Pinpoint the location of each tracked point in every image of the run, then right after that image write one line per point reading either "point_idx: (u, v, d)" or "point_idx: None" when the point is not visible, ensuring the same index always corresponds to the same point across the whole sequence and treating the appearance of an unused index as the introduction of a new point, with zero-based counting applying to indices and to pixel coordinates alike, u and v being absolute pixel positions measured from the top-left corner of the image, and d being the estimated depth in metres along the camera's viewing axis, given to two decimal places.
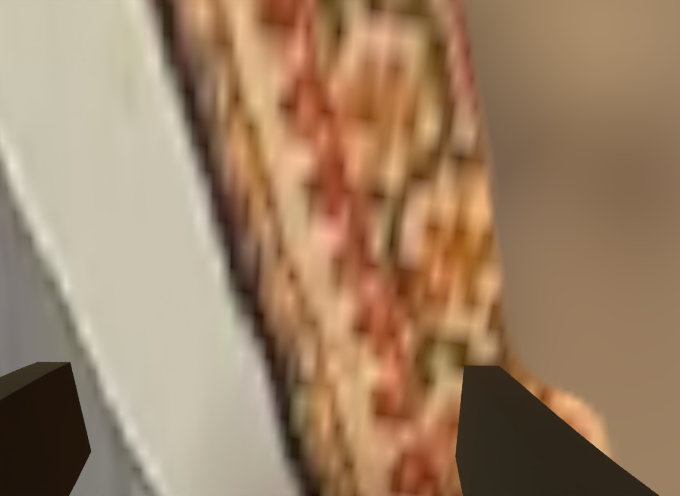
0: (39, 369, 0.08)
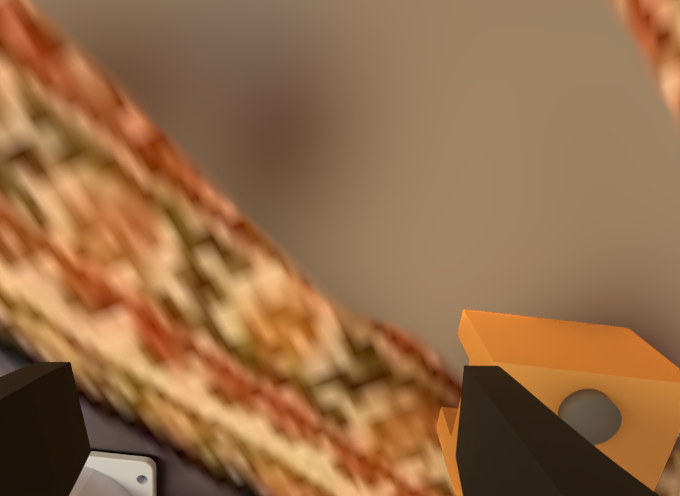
0: (39, 369, 0.08)
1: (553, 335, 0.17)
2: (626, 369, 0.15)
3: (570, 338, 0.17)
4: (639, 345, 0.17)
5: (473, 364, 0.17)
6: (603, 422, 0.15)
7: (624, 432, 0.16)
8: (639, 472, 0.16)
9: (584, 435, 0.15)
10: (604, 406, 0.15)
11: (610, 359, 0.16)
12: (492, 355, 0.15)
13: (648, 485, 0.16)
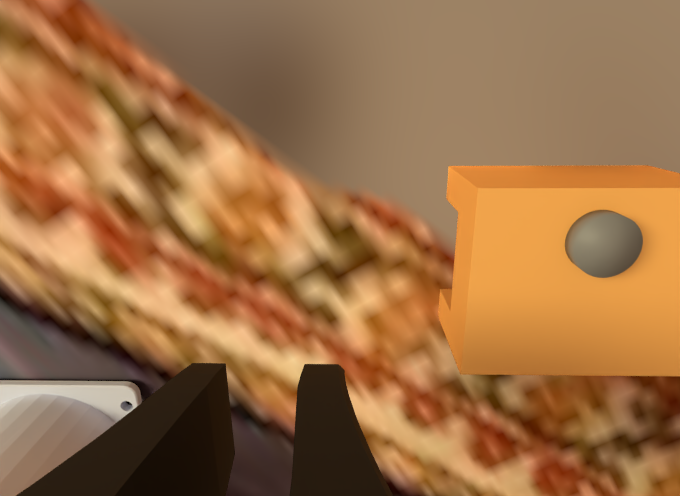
0: (202, 370, 0.08)
1: (554, 173, 0.15)
2: (643, 184, 0.13)
3: (574, 173, 0.15)
4: (660, 172, 0.15)
5: (462, 212, 0.14)
6: (620, 244, 0.12)
7: (649, 262, 0.13)
8: (674, 313, 0.14)
9: (598, 264, 0.12)
10: (619, 222, 0.12)
11: (623, 180, 0.13)
12: (477, 185, 0.13)
13: None
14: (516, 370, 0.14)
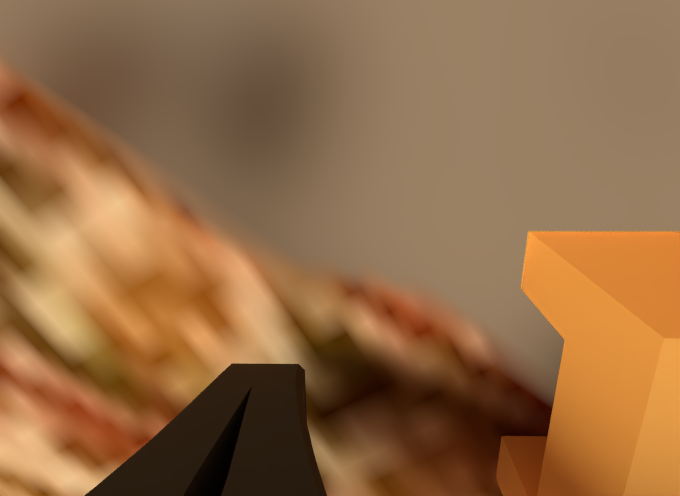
0: (243, 371, 0.08)
1: None
2: None
3: None
4: None
5: (580, 350, 0.07)
6: None
7: None
8: None
9: None
10: None
11: None
12: (649, 320, 0.05)
13: None
14: None
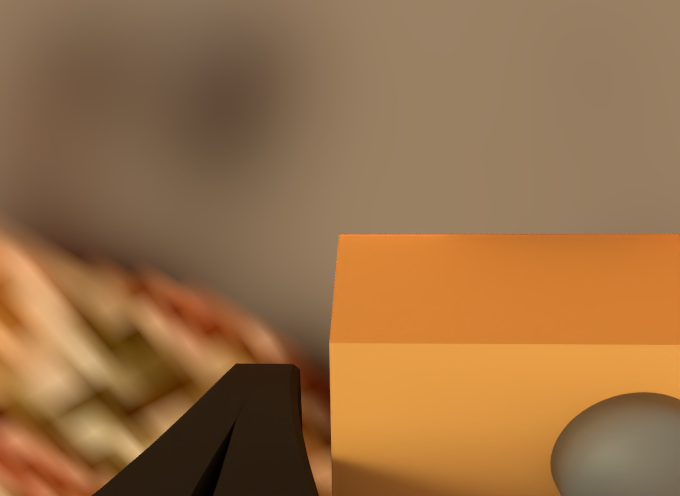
0: (248, 370, 0.08)
1: (531, 263, 0.07)
2: None
3: (575, 265, 0.07)
4: None
5: None
6: None
7: None
8: None
9: None
10: None
11: None
12: (338, 324, 0.05)
13: None
14: None
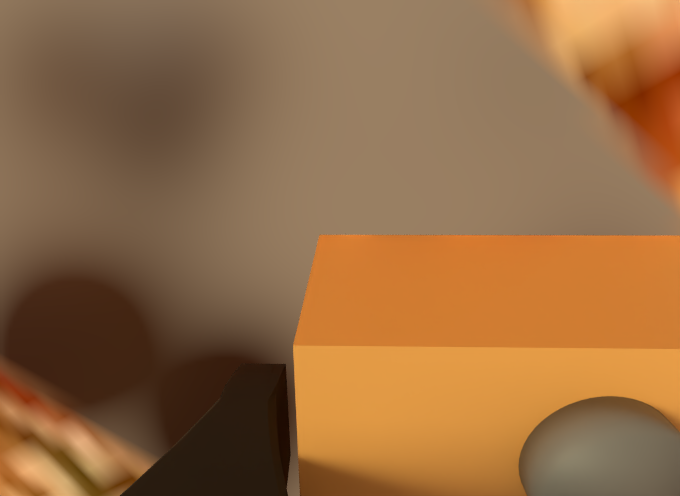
0: (265, 371, 0.08)
1: (509, 265, 0.07)
2: None
3: (551, 268, 0.07)
4: None
5: None
6: None
7: None
8: None
9: None
10: (656, 451, 0.04)
11: (659, 304, 0.06)
12: (304, 327, 0.05)
13: None
14: None
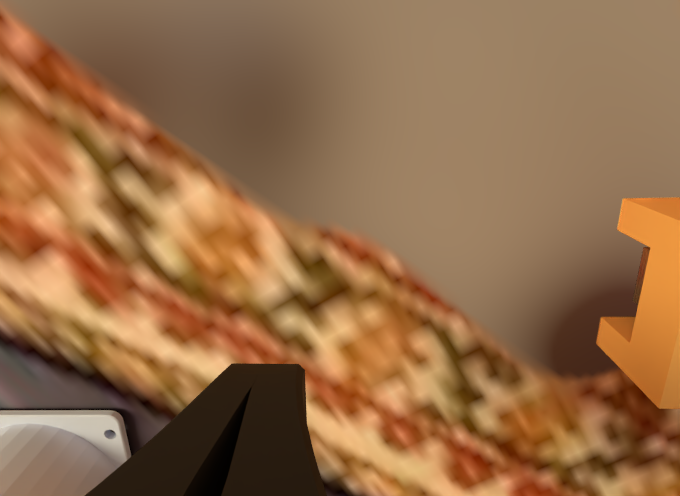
0: (243, 370, 0.08)
1: None
2: None
3: None
4: None
5: (660, 248, 0.14)
6: None
7: None
8: None
9: None
10: None
11: None
12: None
13: None
14: None
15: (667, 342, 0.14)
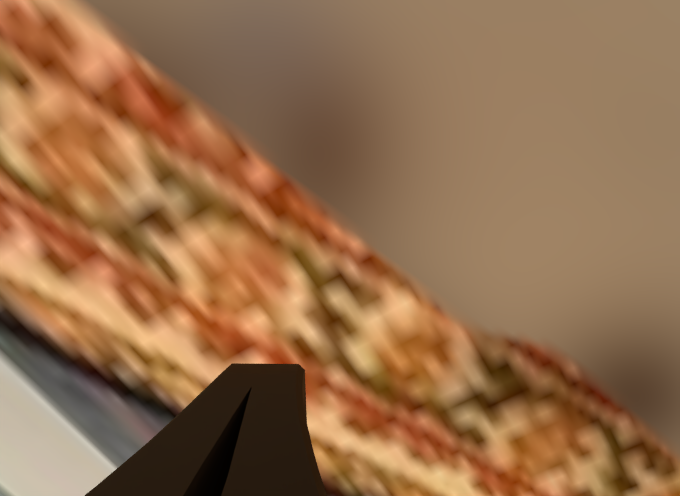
0: (243, 371, 0.08)
1: None
2: None
3: None
4: None
5: None
6: None
7: None
8: None
9: None
10: None
11: None
12: None
13: None
14: None
15: None
